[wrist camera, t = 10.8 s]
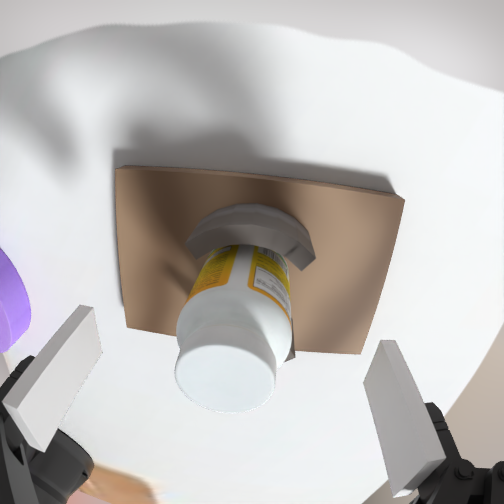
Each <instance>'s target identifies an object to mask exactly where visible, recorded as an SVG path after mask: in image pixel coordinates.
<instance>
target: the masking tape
mask: <svg viewBox="0 0 504 504" xmlns="http://www.w3.org/2000/svg"><path fill="white" fill-rule="evenodd" d="M30 320H31V308H30V303H29V298H28V295H27V292H26V289H25V286H24V284H23V282H22V280H21V278H20V276H19V274H18V272H17V270H16V268H15V267H14V265H13V264H12V262H11V261H10V259H9V258H8V257H7V255H6V254H5V253H4V252H3V251H2V250H1V249H0V353H3V352H6V351H7V350H8V349H9V348H10V347H11V346H12V345H13V344H14V343H15V342H16V341H17V340H18V339H19V337H20V336H21V335H22V334H23V333H24V332H25V331H26V330H27V329H28V327H29V325H30Z"/></svg>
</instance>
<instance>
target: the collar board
mask: <svg viewBox="0 0 504 504" xmlns="http://www.w3.org/2000/svg"><path fill="white" fill-rule="evenodd" d="M115 197H116V223H117V240H118V254H119V266H120V276H121V286H122V295H123V303H124V311H125V318H126V325H127V328H132V329H137V330H143V331H148V332H154V333H160V334H165V335H171V336H177V335H176V327H177V321H178V318H179V315H180V313H181V310H182V308H183V306H184V304H185V302H186V300H187V298H188V296H189V294H190V292H191V290H192V288H193V286H194V284H195V282H196V280H197V278H198V276H199V274H200V272H201V270H202V268H203V266H204V263H205V261H206V260H207V258H208V256H209V255H210V253H211V252H212V251H213V250H214V249H217V248H221V247H225V246H229V245H249V244H251V245H255V246H259V247H264V248H268V249H271V250H273V251H274V252H276V253H278V254H280V255H282V256H283V257H284V259H285V261H286V263H287V266H288V271H289V282H290V301H291V323H292V342H291V348H290V351H289V354H288V356H287V358H286V359H285V361H284V362H286V361H288V360H291V359H293V358H295V351H306V352H321V353H339V354H361V352H362V349H363V346H364V343H365V341H366V338H367V335H368V332H369V329H370V326H371V323H372V320H373V317H374V314H375V311H376V308H377V305H378V302H379V299H380V295H381V292H382V289H383V286H384V282H385V279H386V275H387V272H388V268H389V265H390V261H391V257H392V253H393V250H394V246H395V242H396V238H397V234H398V229H399V225H400V221H401V216H402V212H403V207H404V203H405V200H404V199H403V198H401V197H400V196H398V195H397V194H392V193H387V192H381V191H375V190H369V189H363V188H357V187H351V186H345V185H338V184H331V183H324V182H317V181H310V180H302V179H294V178H286V177H277V176H269V175H259V174H249V173H239V172H228V171H216V170H203V169H189V168H172V167H152V166H122V167H120V168H117V169H115ZM284 362H283V363H284Z"/></svg>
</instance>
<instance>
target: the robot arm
mask: <svg viewBox="0 0 504 504" xmlns="http://www.w3.org/2000/svg"><path fill="white" fill-rule="evenodd" d="M102 353H103V352H102V348H101V343H100V339H99V334H98V329H97V324H96V319H95V314H94V308H93V307H88V306H83V305H79V306H78V308H77V309H76V310H75V311H74V312H73V313H72V314H71V316H70V317H69V318H68V319H67V320H66V321H65V322H64V324H63V325H62V326H61V327H60V328H59V329H58V331H57V332H56V333H55V334H54V335H53V337H52V338H51V339H50V340H49V341H48V343H47V344H46V345H45V346H44V347H43V349H42V350H41V351H40V352H39V354H38V355H37V356H36V357H34V356H31V355H30V356H28V357H27V358H25V359H24V360H22V361H21V362H20V363H19V364H18V366H17V367H16V368H15V371H13V372H12V373H11V374H10V377H8V378H7V379H6V381H5V382H4V383H3V385H2V386H1V387H0V504H66V503H67V501H68V499H69V497H70V496H71V495H72V494H73V493H74V492H75V491H76V490H77V489H78V488H79V487H80V486H81V485H82V484H83V483H84V482H85V481H86V480H87V479H88V478H89V477H90V475H91V473H92V470H93V468H94V463H93V461H92V459H91V458H90V456H89V455H88V454H87V453H86V452H85V451H84V450H83V449H82V448H81V447H80V446H79V445H78V444H76V443H75V442H74V441H73V440H72V439H70V438H69V437H68V436H66V435H65V434H63V433H62V432H60V431H59V430H57V429H58V427H59V425H60V423H61V422H62V420H63V418H64V416H65V414H66V413H67V411H68V409H69V407H70V406H71V404H72V402H73V401H74V399H75V397H76V395H77V394H78V392H79V390H80V389H81V387H82V385H83V384H84V382H85V380H86V379H87V377H88V375H89V374H90V372H91V370H92V369H93V367H94V366H95V364H96V362H97V361H98V359H99V358H100V356H101V354H102ZM363 384H364V387H365V391H366V394H367V398H368V401H369V405H370V408H371V412H372V415H373V419H374V423H375V426H376V430H377V434H378V438H379V442H380V446H381V449H382V453H383V457H384V462H385V466H386V470H387V474H388V478H389V483H390V487H391V491H392V496H393V498H394V497H400V496H405V495H410V494H411V493H412V492H413V491H414V490H415V489H417V488H418V491H419V495H418V496H417V497H416V498H414V500H412V501H411V502H410V503H409V504H504V461H500V462H498V463H496V464H495V465H494V466H493V467H492V468H491V469H487V468H475V467H474V465H473V464H472V463H471V462H469V461H468V460H465V459H462V458H461V456H460V454H459V452H458V449H457V447H456V445H455V442H454V440H453V437H452V435H451V433H450V430H448V426H447V424H446V422H445V419H444V417H443V414H442V412H441V410H440V409H439V408H438V407H437V406H436V405H435V404H434V403H433V402H431V403H424V402H423V399H422V397H421V395H420V392H419V390H418V388H417V386H416V383H415V381H414V379H413V377H412V375H411V372H410V370H409V368H408V366H407V364H406V362H405V360H404V358H403V355H402V353H401V351H400V349H399V347H398V345H397V343H396V341H395V340H380V343H379V345H378V348H377V350H376V353H375V355H374V358H373V360H372V363H371V365H370V368H369V370H368V373H367V375H366V377H365V380H364V382H363Z"/></svg>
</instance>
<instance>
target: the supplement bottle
mask: <svg viewBox="0 0 504 504" xmlns="http://www.w3.org/2000/svg"><path fill="white" fill-rule="evenodd" d="M176 335H177V341H178V345H179V348H180V353H179V356H178V359H177V361H176V365H175V379H176V382H177V384H178V386H179V388H180V389H181V391H182V392H183V393H184V394H185V396H186V397H188V398H189V399H190V400H191V401H193V402H194V403H196V404H198V405H199V406H201V407H204V408H206V409H209V410H212V411H215V412H221V413H243V412H247V411H250V410H254V409H256V408H258V407H260V406H262V405H263V404H264V403H265V402H267V400H268V399H269V398H270V397H271V395H272V393H273V391H274V388H275V380H276V370H277V369H278V368H279V367H280V366H281V365H282V364H283V362H284V361H285V359H286V358H287V356H288V354H289V351H290V348H291V342H292V323H291V301H290V282H289V271H288V266H287V263H286V261H285V259H284V257H283V256H282V255H280V254H278V253H276V252H274V251H273V250H271V249H268V248H264V247H259V246H255V245H251V244H249V245H229V246H225V247H221V248H217V249H214V250H213V251H212V252H211V253H210V255H209V256H208V258H207V260H206V261H205V263H204V266H203V268H202V270H201V272H200V274H199V276H198V278H197V280H196V282H195V284H194V286H193V288H192V290H191V292H190V294H189V296H188V298H187V300H186V302H185V304H184V306H183V308H182V310H181V313H180V315H179V318H178V321H177V327H176Z"/></svg>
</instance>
